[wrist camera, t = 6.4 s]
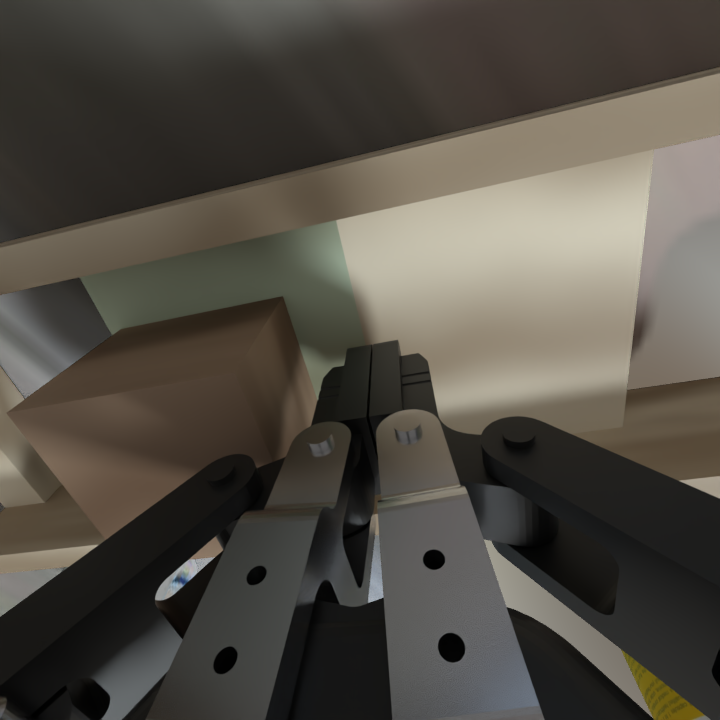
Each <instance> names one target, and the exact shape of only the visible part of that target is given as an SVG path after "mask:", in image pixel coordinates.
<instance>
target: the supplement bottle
mask: <svg viewBox="0 0 720 720" xmlns="http://www.w3.org/2000/svg"><path fill="white" fill-rule="evenodd" d="M621 650H622V649H621ZM622 653H623V655H624V657H625V659H626V661H627V663H628V665H629V668H630V670H631V672H632V674H633V676H634V678H635V680H636V682H637V685H638V687H639V689H640V691H641V693H642V695H643V697H644V699H645V702H646V704H647V706H648V708H649V710H650V712H651V714H652V716H653V719H654V720H710V719H709V718H708V717H707V716H705V715H704V714H703V713H702V712H700V711H699V710H698V709H696V708H695V707H694V706H693V705H691V704H690V703H689V702H688V701H686V700H685V699H684V698H682V697H681V696H680V695H679V694H677V693H676V692H675V691H674V690H672V689H671V688H670V687H668V686H667V685H666V684H665V683H663V682H662V681H661V680H660V679H658V678H657V677H656V676H655V675H653V674H652V673H651V672H649V671H648V670H647V669H646V668H644V667H643V666H642V665H641V664H639V663H638V662H637V661H635V660H634V659H633V658H632V657H630V656H629V655H628V654H627V653H625V652H624V651H623V650H622Z"/></svg>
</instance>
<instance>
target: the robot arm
mask: <svg viewBox="0 0 720 720" xmlns="http://www.w3.org/2000/svg"><path fill="white" fill-rule="evenodd" d="M318 399H319V400H317V404H316V408H315V412H314V416H313V420H312V423H311V426H310V427H308V428H306V429H304V430H303V431H302V432H300V433H299V434H298V435H297V436H296V437H295V438H294V440H293V441H292V443H291V445H290V448H289V450H288V453H287V455H286V457H284V458H282V459H279V460H277V461H274V462H271V463H269V464H266V465H263V466H261V467H258V468H257V467H256V465H255V462H254V461H253V459H252V458H251V457H250V456H247V455H244V454H232V455H228V456H225V457H222V458H220V459H217V460H215V461H214V462H212V463H210V464H209V465H207V466H206V467H205V468H203V469H202V470H200V471H199V472H198V473H196V474H195V475H194V476H192V477H191V478H190V479H188V480H187V481H185V482H184V483H183V484H181V485H180V486H179V487H177V488H176V489H175V490H173V491H172V492H170V493H169V494H168V495H166V496H165V497H164V498H162V499H161V500H159V501H158V502H157V503H155V504H154V505H153V506H151V507H150V508H149V509H147V510H146V511H144V512H143V513H142V514H140V515H139V516H138V517H136V518H135V519H133V520H132V521H131V522H129V523H128V524H127V525H125V526H124V527H123V528H121V529H120V530H118V531H117V532H116V533H114V534H113V535H112V536H110V537H109V538H108V539H106V540H105V541H103V542H102V543H101V544H99V545H98V546H97V547H95V548H94V549H92V550H91V551H90V552H88V553H87V554H86V555H84V556H83V557H82V558H80V559H79V560H77V561H76V562H75V563H73V564H72V565H71V566H69V567H68V568H66V569H65V570H64V571H62V572H61V573H60V574H58V575H57V576H56V577H54V578H53V579H51V580H50V581H49V582H47V583H46V584H45V585H43V586H42V587H41V588H39V589H38V590H36V591H35V592H34V593H32V594H31V595H30V596H28V597H27V598H25V599H24V600H23V601H21V602H20V603H19V604H17V605H16V606H15V607H13V608H12V609H10V610H9V611H8V612H6V613H5V614H4V615H2V616H1V617H0V720H654V719H653V718H652V717H651V716H650V715H649V714H647V713H646V712H645V711H644V710H643V709H642V708H641V707H640V706H639V705H637V704H636V703H635V702H634V701H633V700H632V699H631V698H630V697H629V696H627V695H626V694H625V693H624V692H623V691H622V690H621V689H620V688H619V687H618V686H616V685H615V684H614V683H613V682H612V681H611V680H610V679H609V678H608V677H607V676H606V675H604V674H603V673H602V672H601V671H600V670H599V669H598V668H597V667H596V666H594V665H593V664H592V663H591V662H590V661H589V660H588V659H587V658H586V657H585V656H583V655H582V654H581V653H580V652H579V651H578V650H577V649H576V648H575V647H573V646H572V645H571V644H570V643H569V642H568V641H566V640H565V639H564V638H563V637H561V636H560V635H558V634H557V633H556V632H554V631H553V630H552V629H550V628H549V627H547V626H546V625H544V624H542V623H540V622H539V621H537V620H535V619H534V618H532V617H530V616H528V615H525V614H523V613H521V612H519V611H516V610H514V609H511V608H508V607H506V605H505V602H504V599H503V596H502V593H501V590H500V587H499V584H498V581H497V578H496V575H495V572H494V569H493V566H492V563H491V560H490V557H489V554H488V551H487V548H486V545H485V542H484V539H486V540H491V541H492V543H493V545H494V547H495V548H496V550H497V551H498V552H499V553H500V554H501V555H502V556H503V557H505V558H506V559H507V560H508V561H510V562H511V563H512V564H514V565H515V566H516V567H517V568H519V569H520V570H521V571H522V572H524V573H525V574H526V575H528V576H529V577H530V578H531V579H533V580H534V581H535V582H536V583H538V584H539V585H540V586H541V587H543V588H544V589H545V590H547V591H548V592H549V593H551V594H552V595H553V596H554V597H555V598H557V599H558V600H559V601H561V602H562V603H563V604H564V605H566V606H567V607H568V608H569V609H571V610H572V611H573V612H575V613H576V614H577V615H578V616H580V617H581V618H582V619H583V620H585V621H586V622H587V623H588V624H590V625H591V626H592V627H594V628H595V629H596V630H597V631H599V632H600V633H601V634H603V635H604V636H605V637H606V638H608V639H609V640H610V641H611V642H613V643H614V644H615V645H616V646H618V647H619V648H620V649H622V650H623V651H624V652H625V653H627V654H628V655H629V656H630V657H632V658H633V659H634V660H635V661H637V662H638V663H639V664H641V665H642V666H643V667H644V668H646V669H647V670H648V671H649V672H651V673H652V674H653V675H655V676H656V677H657V678H658V679H660V680H661V681H662V682H663V683H665V684H666V685H667V686H668V687H670V688H671V689H672V690H674V691H675V692H676V693H677V694H679V695H680V696H681V697H682V698H684V699H685V700H686V701H688V702H689V703H690V704H691V705H693V706H694V707H695V708H696V709H698V710H699V711H700V712H702V713H703V714H704V715H705V716H707V717H708V718H709V719H710V720H720V498H717V497H715V496H713V495H710V494H708V493H706V492H704V491H701V490H699V489H697V488H694V487H692V486H690V485H687V484H685V483H683V482H681V481H678V480H676V479H674V478H671V477H669V476H667V475H664V474H662V473H660V472H657V471H655V470H653V469H651V468H648V467H646V466H644V465H641V464H639V463H637V462H634V461H632V460H630V459H628V458H625V457H623V456H621V455H618V454H616V453H614V452H611V451H609V450H607V449H605V448H602V447H600V446H598V445H595V444H593V443H591V442H588V441H586V440H584V439H581V438H579V437H577V436H575V435H572V434H570V433H568V432H565V431H563V430H561V429H558V428H556V427H554V426H552V425H549V424H547V423H545V422H542V421H540V420H537V419H534V418H530V417H523V416H513V417H505V418H501V419H498V420H496V421H494V422H492V423H490V424H489V425H488V426H487V427H485V429H484V430H483V432H482V434H481V435H477V434H468V433H462V432H458V431H455V430H453V429H451V428H449V427H447V426H446V425H445V424H444V423H443V422H442V421H441V420H440V418H439V416H438V412H437V406H436V401H435V396H434V391H433V386H432V381H431V375H430V370H429V365H428V361H427V360H426V359H425V358H424V357H423V356H422V355H420V354H419V353H416V354H410V355H404V356H401V351H400V346H399V341H398V340H393V341H387V342H382V343H376V344H373V345H372V344H371V345H365V346H359V347H353V348H348V349H347V352H346V358H345V363H344V366H339V367H333V368H332V369H331V370H330V371H329V372H328V373H327V374H326V375H325V377H324V378H323V381H322V385H321V391H320V392H319V396H318ZM380 494H381V500H378V503H377V511H378V525H379V539H380V553H381V567H382V581H383V595H384V598H382V599H379V600H376V601H373V602H370V603H368V595H369V586H370V577H371V568H372V559H373V550H374V541H375V532H376V517H375V514H374V504H375V495H380ZM215 536H216V538H217V540H218V542H219V543H220V545H221V547H222V549H223V551H222V552H221V553H219V554H218V555H217V556H216V557H215V558H214V559H213V560H212V561H211V562H209V563H208V564H207V565H206V566H205V567H204V568H203V569H202V570H201V571H199V572H198V573H197V574H196V575H195V576H194V577H193V578H192V579H191V580H189V581H188V582H187V583H186V584H185V585H184V586H183V587H182V588H180V589H179V590H178V591H177V592H176V593H175V594H174V595H172V596H171V597H169V598H167V599H165V600H155V596H156V593H157V591H158V589H159V587H160V586H161V584H162V583H163V582H164V581H165V580H166V579H167V578H168V577H169V576H170V575H171V574H173V573H174V572H175V571H176V570H177V569H178V568H180V567H181V566H182V565H183V564H184V563H185V562H186V561H188V560H189V559H190V558H191V557H192V556H193V555H195V554H196V553H197V552H198V551H199V550H200V549H202V548H203V547H204V546H205V545H206V544H207V543H208V542H210V541H211V540H212V539H213V538H214V537H215Z"/></svg>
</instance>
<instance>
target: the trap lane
mask: <svg viewBox="0 0 720 720" xmlns="http://www.w3.org/2000/svg"><path fill="white" fill-rule="evenodd" d="M717 135H720V67H716V68H712V69H708V70H704V71H700V72H696V73H692V74H688V75H684V76H680V77H676V78H671V79H667V80H663V81H659V82H655V83H651V84H647V85H643V86H639V87H635V88H631V89H627V90H622V91H618V92H614V93H610V94H606V95H602V96H598V97H594V98H590V99H586V100H582V101H578V102H574V103H569V104H565V105H561V106H557V107H553V108H549V109H545V110H541V111H537V112H533V113H529V114H525V115H520V116H516V117H512V118H508V119H504V120H500V121H496V122H492V123H488V124H484V125H480V126H476V127H471V128H467V129H463V130H459V131H455V132H451V133H447V134H443V135H439V136H435V137H431V138H427V139H422V140H418V141H414V142H410V143H406V144H402V145H398V146H394V147H390V148H386V149H382V150H378V151H373V152H369V153H365V154H361V155H357V156H353V157H349V158H345V159H341V160H337V161H333V162H329V163H324V164H320V165H316V166H312V167H308V168H304V169H300V170H296V171H292V172H288V173H284V174H280V175H276V176H271V177H267V178H263V179H259V180H255V181H251V182H247V183H243V184H239V185H235V186H231V187H227V188H222V189H218V190H214V191H210V192H206V193H202V194H198V195H194V196H190V197H186V198H182V199H178V200H173V201H169V202H165V203H161V204H157V205H153V206H149V207H145V208H141V209H137V210H133V211H129V212H124V213H120V214H116V215H112V216H108V217H104V218H100V219H96V220H92V221H88V222H84V223H80V224H75V225H71V226H67V227H63V228H59V229H55V230H51V231H47V232H43V233H39V234H35V235H31V236H27V237H22V238H18V239H14V240H10V241H6V242H2V243H0V295H2V294H7V293H11V292H16V291H20V290H25V289H29V288H34V287H38V286H43V285H47V284H52V283H56V282H61V281H65V280H70V279H74V278H80V279H81V281H82V283H83V285H84V286H85V288H86V290H87V292H88V294H89V295H90V297H91V299H92V301H93V302H94V304H95V306H96V308H97V310H98V311H99V313H100V315H101V317H102V318H103V320H104V322H105V324H106V326H107V327H108V329H109V331H110V333H111V334H112V335H113V334H115V333H116V332H118V331H119V330H120V329H124V328H129V327H133V326H138V325H143V324H148V323H153V322H158V321H163V320H168V319H173V318H178V317H183V316H187V315H192V314H197V313H202V312H207V311H212V310H217V309H222V308H227V307H232V306H237V305H242V304H246V303H251V302H256V301H261V300H266V299H271V298H276V297H281V296H283V298H284V301H285V304H286V307H287V310H288V313H289V316H290V319H291V322H292V325H293V328H294V331H295V334H296V337H297V340H298V343H299V346H300V349H301V352H302V355H303V358H304V361H305V364H306V367H307V370H308V373H309V376H310V379H311V382H312V385H313V388H314V392H315V395H316V398H317V400H319V399H318V396H319V392H320V391H321V385H322V381H323V378H324V377H325V375H326V374H327V373H328V372H329V371H330V370H331V369H332V368H333V367H339V366H344V363H345V358H346V352H347V349H348V348H353V347H359V346H365V345H371V344H372V345H373V344H376V343H382V342H387V341H393V340H398V341H399V346H400V351H401V356H404V355H410V354H416V353H419V354H420V355H422V356H423V357H424V358H425V359H426V360H427V361H428V365H429V370H430V375H431V381H432V386H433V391H434V396H435V401H436V406H437V412H438V416H439V418H440V420H441V421H442V422H443V423H444V424H445V425H446V426H447V427H449V428H451V429H453V430H455V431H458V432H462V433H468V434H477V435H481V434H482V432H483V430H484V429H485V427H487V426H488V425H489V424H490V423H492V422H494V421H496V420H498V419H501V418H505V417H513V416H523V417H530V418H534V419H537V420H540V421H542V422H545V423H547V424H549V425H552V426H554V427H556V428H558V429H561V430H563V431H565V432H568V433H570V434H572V435H575V436H577V437H579V438H581V439H584V440H586V441H588V442H591V443H593V444H595V445H598V446H600V447H602V448H605V449H607V450H609V451H611V452H614V453H616V454H618V455H621V456H623V457H625V458H628V459H630V460H632V461H634V462H637V463H639V464H641V465H644V466H646V467H648V468H651V469H653V470H655V471H657V472H660V473H662V474H664V475H667V476H669V477H671V478H674V479H676V480H678V481H681V482H683V483H685V484H687V485H690V486H692V487H694V488H697V489H699V490H701V491H704V492H706V493H708V494H710V495H713V496H715V497H717V498H720V377H715V378H708V379H701V380H694V381H688V382H680V383H673V384H666V385H660V386H653V387H645V388H639V389H631V390H627V385H628V375H629V367H630V358H631V349H632V340H633V332H634V323H635V314H636V305H637V296H638V287H639V278H640V269H641V261H642V252H643V243H644V234H645V225H646V216H647V207H648V199H649V190H650V181H651V172H652V163H653V154H654V149H658V148H663V147H667V146H672V145H676V144H681V143H685V142H690V141H694V140H699V139H703V138H708V137H712V136H717ZM23 400H25V399H24V398H23V396H22V395H21V393H20V392H19V391H18V389H17V388H16V387H15V385H14V384H13V383H12V381H11V380H10V379H9V377H8V376H7V374H6V373H5V372H4V370H3V369H2V368H1V366H0V503H1V504H2V505H3V506H4V507H5V508H4V509H3V510H2V511H1V512H0V574H2V573H12V572H22V571H32V570H41V569H51V568H61V567H69V566H71V565H72V564H73V563H75V562H76V561H77V560H79V559H80V558H82V557H83V556H84V555H86V554H87V553H88V552H90V551H91V550H92V549H94V548H95V547H97V546H98V545H99V544H101V543H102V542H103V541H105V538H104V537H103V536H102V535H101V533H100V532H99V531H98V529H97V528H96V527H95V526H94V524H93V523H92V522H91V520H90V519H89V518H88V517H87V515H86V514H85V513H84V512H83V510H82V509H81V508H80V506H79V505H78V504H77V503H76V501H75V500H74V499H73V498H72V496H71V495H70V494H69V492H68V491H67V490H66V489H65V487H64V486H63V485H62V484H61V482H60V481H59V480H58V478H57V477H56V476H55V475H54V473H53V472H52V471H51V470H50V468H49V467H48V466H47V464H46V463H45V462H44V461H43V459H42V458H41V457H40V456H39V454H38V453H37V452H36V450H35V449H34V448H33V447H32V445H31V444H30V443H29V442H28V440H27V439H26V438H25V436H24V435H23V434H22V433H21V431H20V430H19V429H18V427H17V426H16V425H15V424H14V422H13V421H12V420H11V419H10V417H9V416H8V415H7V412H8V411H9V410H11V409H12V408H14V407H15V406H16V405H18V404H19V403H20V402H22V401H23ZM378 500H381V494H380V495H375V504H374V514H375V517H376V532H375V535H379V525H378V511H377V503H378Z"/></svg>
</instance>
